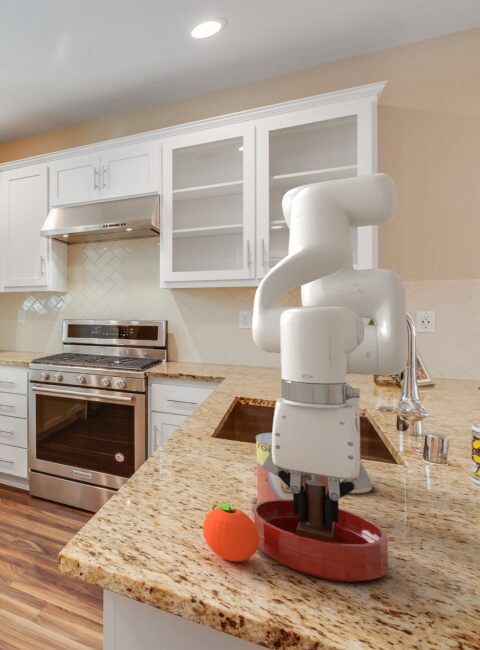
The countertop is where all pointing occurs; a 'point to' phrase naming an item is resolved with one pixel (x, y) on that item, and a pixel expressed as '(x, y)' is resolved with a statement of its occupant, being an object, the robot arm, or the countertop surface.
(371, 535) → the bowl
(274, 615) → the countertop surface
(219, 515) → the clementine
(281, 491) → the canned food
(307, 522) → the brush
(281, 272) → the robot arm
